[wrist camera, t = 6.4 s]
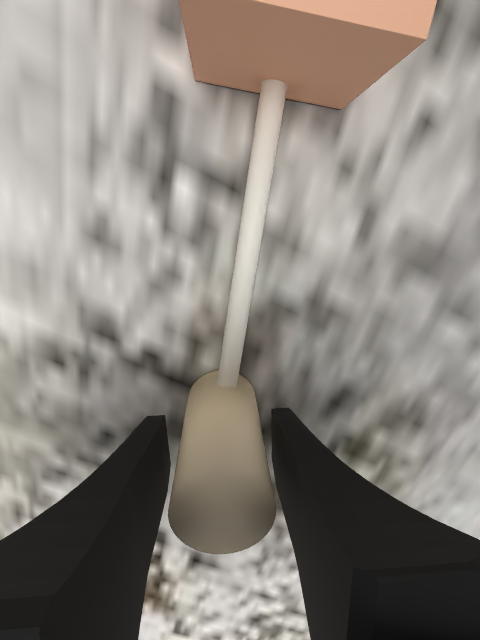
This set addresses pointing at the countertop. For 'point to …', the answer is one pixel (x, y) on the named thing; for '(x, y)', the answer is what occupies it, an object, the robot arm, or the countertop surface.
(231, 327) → the cord block
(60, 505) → the robot arm
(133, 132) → the countertop surface
